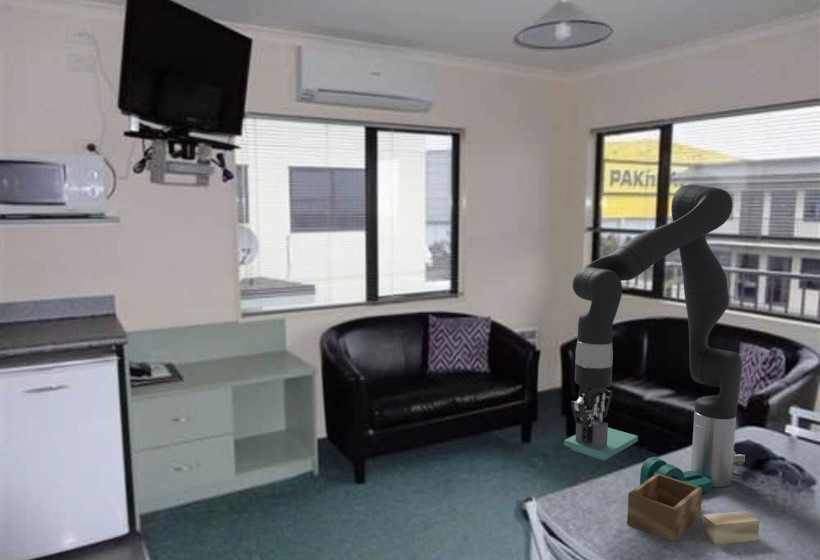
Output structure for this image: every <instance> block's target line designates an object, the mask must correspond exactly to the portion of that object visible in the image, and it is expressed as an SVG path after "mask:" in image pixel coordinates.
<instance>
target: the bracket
mask: <svg viewBox="0 0 820 560" xmlns="http://www.w3.org/2000/svg"><path fill="white" fill-rule="evenodd" d="M639 473H640V475H639V485H641V484H642V483H644V482H645V481H647V480H648V479H649V478H651V477H652V476H654V475H655V474H657V473H658V474H661V475H664V476H667V477H671V478H674V479H677V480H680V481H683V482H686V483H689V484H692V485H695V486H698V487H701V488H702V494H704V493H708V492H711V491H712V490H713V489H712V488H713V486H712V478H711V477H707V476H704V475H701V474H699V473H697V472H695V471H691V470H685V471H683V470H682V469H681V468H678V467H677V466H675V465H672V464H670V463H667V462H666V461H665V460H663V459H661V458H659V457H657V456H651V457H648V458H647V459H645V461H644V462H643V463H642V465H641V468H640V472H639Z"/></svg>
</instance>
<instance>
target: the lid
mask: <svg viewBox="0 0 820 560" xmlns="http://www.w3.org/2000/svg"><path fill="white" fill-rule="evenodd" d="M588 421H589V417H588ZM592 427H593V435H592V443H590V444H588V443H585V442H582V440H581V436H582V425H580V424H576V423H575V434H574V435H572V436H570V437H568V438H566V439H564V442H563V445H564V446H565V447H568V448H571V449H570V450H571V451H574V452H577V453H578V454H583V455H585V456H589V457H591V458H595V459H598V460H601V461H603V462H605V461H606V460H608V459H609V458H611V457H614V456H615V455H617V454H618V453H620V452H622V451H623V450H625V449H627V448H628V447H630V446H632V445H633V444H635V443H637V442H638V440H639V436H638V435H636V434H632V433H628V432H625V431H622V430H618V429H615V428H612V427H609V423H608V422H605V421H602V422H601V421H598V420H594V419H593V426H592Z"/></svg>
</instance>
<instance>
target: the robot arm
mask: <svg viewBox="0 0 820 560" xmlns="http://www.w3.org/2000/svg"><path fill="white" fill-rule="evenodd" d="M733 204H734V203H733V199H732V196H731V194H730V193H729V192H728V191H726V190H725V189H722V188H720V187H719V188H718V187H715V186H714V187H713V186H707V185H706V186H704V185H698V184H697V185H696V184H686V185H685V184H684V185H682V186H681V187H679V188H678V189H677V190H675V193H674V194H673V197H672V200H671V208H670V209H671V210H670V211H671V219H672V221H671V222H668V223H665V224H664V225H661V226H658V227H655V228H651V229H650V230H647V231H644V232H642V233H640V234H638V235H636V236H634V237H632V238H631V239H629V240H628V241H627V242H626V243H624V244H622V245H621V246H620V247H618V248H617V249H616V250H615V251H614V252H612V253H609V254H607V255H605V256H602V257H600V258H598V259H596V260H594V261H592V262H590V263H588V264H586V265H584V266H583V267H582V268H580V270H578V271H577V273H576V274H575V276H574V278H573V280H572V289H573V292H574V294H576V295H577V297H579V298H580V299H582V300H585V301H589V302H590V301H591V303H590V307H589V311H587V312H584V313H582V314H580V315H579V318H578V321H577V322H578V323H577V341H576V348H575V363H574V365H575V366H574V381H575V384H577V385H578V386H579V392H578V399H577V400H572V401H571V402H570V406H571V411H572V413H573V418H574V422H575V425H576V424H580V425H582V436H581V440H582V442H585V443H588V444H590V443H592V435H593V427H592V426H593V419H594V420H598V421H601V422H603V420H604V419H603V418H607V416H608V411H609V407H610V405H611V401H612V396H613V391H612V390H609V389H607V387H608V388H609V387H610V386H611V385H612V379H613V359H614V358H613V357H614V351H613V331H614V328H613V323H614V322H615V321H614V320H615V318H616V316H617V312H618V310H619V306H620V302H621V299H622V296H623V285H622V282H623V281H631V280H633V279H635V278H637V277H638V276H641V274H643V273H644V272H645V271H647V270H648V269H649V268H650V267H652V266H653V265H655V264H656V263H657V262H658V261H660V260H662V259H664V258H665V257H666V256H668V255H669V254H671V253H672V252H673V253H674V252H675V251H677V250H679V256H680V261H681V262H680V264H681V268H682V269H681V270H682V277H683V279H682V280H683V281H682V282H683V291H684V301H685V307H686V314H687V323H688V343H689V344H688V345H689V347H688V348H689V349H688V350H689V351H688V354H689V359H688V360H689V371H690V375H691V378H692V380H693V381H694V382H695V383H698V384H701V385H706V386H710V387H715V388H720V390H719V393H718V394H715V395H707V396H701V397H698V398H697V399H696V400H695V402H694V414H693V432H692V444H691V445H692V446H691V463H690V471H695V472H697V473H699V474H701V475H704V476H707V477H711V478H712V488H713V487H715V488H725V487H729V486H730V485H732V478H733V474H732V468H733V454H734V452H735V450H734V449H735V439H736V420H737V410H738V406H739V405H738V404H739V395H740V386H741V380H742V371H743V360H742V357H741V355H740V354H739V353H738V352H735V351H731V350H724V349H718V348H713V347H710V346H709V335H710V333H711V331H712V329H713V328H714V326H715V325H716V324H717V323H718V322H719V320H720V319H721V318H722V316H723V315H724V313H725V312H726V310H727V309H728V307H729V304H730V303H729V302H730V299H729V298H730V297H729V288H728V287H729V284H728V277H727V275H726V272H725V270H724V269H723V266H722V264H721V263H720V261H719V260H718V259H717V257H716V255H715V254H714V252H713V251H712V249H711V247H710V246H709V243H708V241H707V238H706V235H707V234H709V233H711V232H713V231H715V230H717V229H718V228H720V227H722V226H723V225H724V224H726V222H727V221H728V220H729V218H730V216H731V214H732V211H733V206H734V205H733ZM588 418H589V421H588Z"/></svg>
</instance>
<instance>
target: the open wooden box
mask: <svg viewBox="0 0 820 560" xmlns="http://www.w3.org/2000/svg"><path fill="white" fill-rule="evenodd" d="M702 494H703V493H702V488H701V487H698V486H695V485H692V484H689V483H686V482H683V481H680V480H677V479H674V478H671V477H667V476H664V475H661V474H658V473H657V474H655V475H654V476H652V477H651V478H649V479H648V480H647V481H645V482H644V483H642V484H641V485H640V484H639V485H638V486H636V487H635V488H634V489H632V490H631V491H630V492H628V495H627V496H628V498H627V499H628V501H627V516H626V517H627V519H626V520H627V521H626V524H627V525H628V526H629V525H630V526H631V525H632V527H634V528H636V529H639V530H641V531H644V532H647V533H650V534H652V535H654V536H657V537H659V538H662V539H664V540H666V541H670V542H671V543H675V542H676V541H677V540H679V539H680V538H681V536H682V535H683V534H685V533H686V532H687V531H688V530H689V529H690V528H691V527H693V525H694V524H695V523H697V521H699V520H700V519H701V511H702V498H703V495H702Z"/></svg>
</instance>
